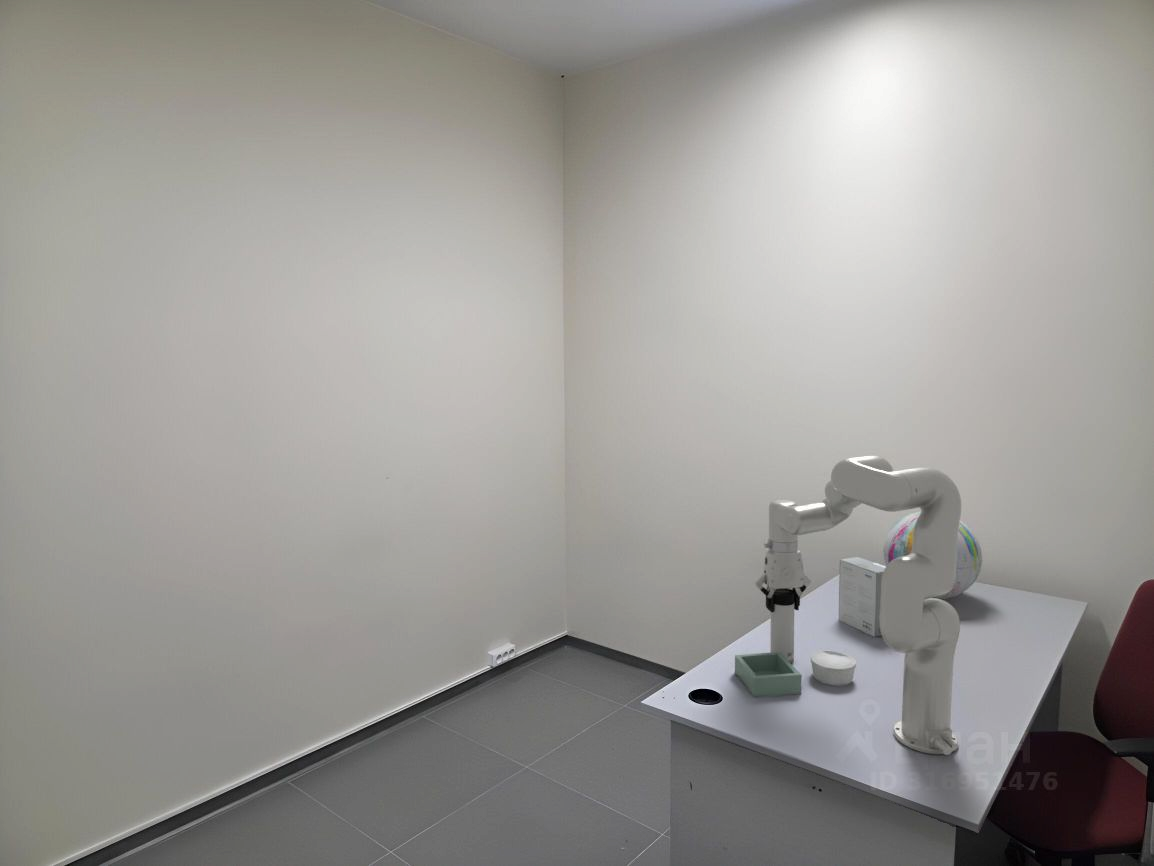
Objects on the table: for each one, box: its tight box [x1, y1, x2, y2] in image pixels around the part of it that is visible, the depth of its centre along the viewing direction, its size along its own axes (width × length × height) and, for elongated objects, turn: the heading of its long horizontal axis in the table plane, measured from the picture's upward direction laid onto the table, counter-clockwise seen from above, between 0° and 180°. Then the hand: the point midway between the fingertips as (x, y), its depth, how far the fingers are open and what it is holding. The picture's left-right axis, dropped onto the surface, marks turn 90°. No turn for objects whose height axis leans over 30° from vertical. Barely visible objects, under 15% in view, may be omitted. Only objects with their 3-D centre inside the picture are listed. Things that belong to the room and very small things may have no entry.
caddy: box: [734, 652, 802, 699], centre depth 179 cm, size 13×12×5 cm
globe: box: [882, 510, 983, 600], centre depth 236 cm, size 30×30×30 cm
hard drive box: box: [838, 556, 886, 638], centre depth 212 cm, size 16×8×20 cm, turn 22°
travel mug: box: [769, 588, 796, 664], centre depth 190 cm, size 6×7×20 cm
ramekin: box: [810, 650, 857, 687], centre depth 181 cm, size 11×11×5 cm
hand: (782, 609), depth 190 cm, fingers closed on travel mug, 6 cm apart
